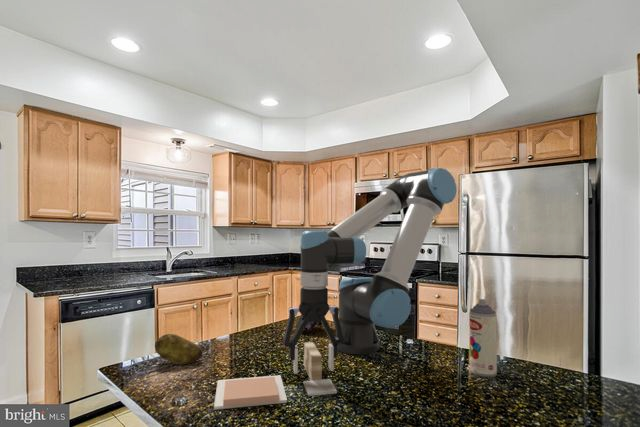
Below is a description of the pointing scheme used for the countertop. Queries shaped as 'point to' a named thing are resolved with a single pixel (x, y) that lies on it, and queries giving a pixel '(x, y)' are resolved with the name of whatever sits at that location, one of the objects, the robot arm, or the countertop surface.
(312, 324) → the decorative flower
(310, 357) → the scraper
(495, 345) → the aerosol can
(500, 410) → the countertop surface
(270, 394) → the tile
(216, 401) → the mat
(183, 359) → the potato
